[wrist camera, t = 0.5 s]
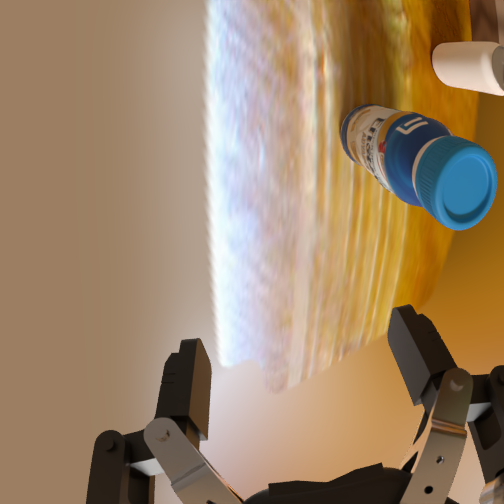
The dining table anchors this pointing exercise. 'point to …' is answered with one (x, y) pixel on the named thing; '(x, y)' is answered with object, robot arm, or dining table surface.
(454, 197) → the beverage bottle
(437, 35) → the dining table surface
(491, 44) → the can
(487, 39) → the walnut block
